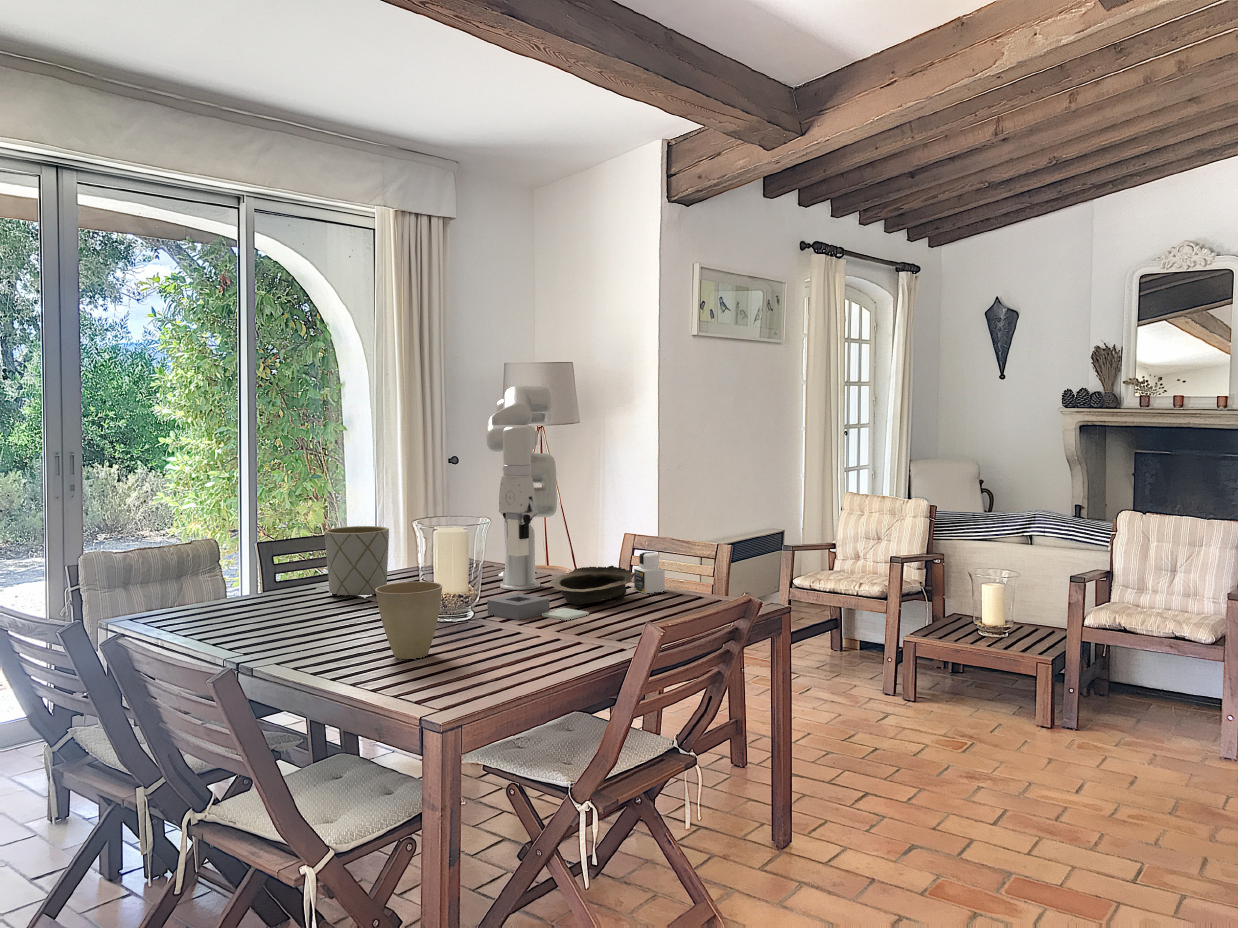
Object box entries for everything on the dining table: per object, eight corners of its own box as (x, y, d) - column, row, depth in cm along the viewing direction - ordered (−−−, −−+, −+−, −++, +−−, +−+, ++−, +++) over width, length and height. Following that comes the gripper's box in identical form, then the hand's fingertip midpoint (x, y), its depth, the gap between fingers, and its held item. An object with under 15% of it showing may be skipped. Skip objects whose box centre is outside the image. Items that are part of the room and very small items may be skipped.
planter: (313, 598, 291) (311, 532, 290) (348, 587, 309) (347, 525, 308) (369, 601, 285) (367, 534, 284) (401, 589, 304) (400, 526, 303)
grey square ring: (487, 614, 266) (487, 599, 266) (519, 607, 275) (518, 593, 275) (518, 620, 258) (518, 605, 258) (549, 612, 267) (549, 598, 267)
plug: (506, 554, 265) (505, 512, 265) (518, 553, 269) (517, 511, 268) (518, 556, 263) (517, 514, 262) (530, 554, 266) (529, 512, 265)
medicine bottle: (633, 590, 300) (633, 551, 299) (654, 588, 303) (654, 550, 302) (644, 594, 294) (643, 554, 293) (665, 592, 296) (664, 553, 296)
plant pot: (415, 645, 231) (414, 578, 230) (457, 654, 222) (455, 585, 221) (363, 657, 220) (361, 588, 219) (404, 668, 210) (403, 595, 209)
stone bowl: (637, 593, 294) (637, 563, 293) (630, 616, 270) (630, 584, 268) (557, 591, 297) (556, 561, 295) (543, 614, 272) (542, 582, 271)
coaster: (542, 616, 263) (542, 613, 263) (564, 610, 270) (564, 607, 270) (566, 620, 257) (566, 617, 257) (588, 614, 264) (588, 611, 264)
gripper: (486, 471, 267) (487, 537, 268) (529, 473, 256) (529, 542, 257) (506, 469, 273) (507, 534, 274) (548, 471, 262) (549, 539, 263)
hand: (518, 537), depth 265 cm, fingers closed on plug, 4 cm apart
